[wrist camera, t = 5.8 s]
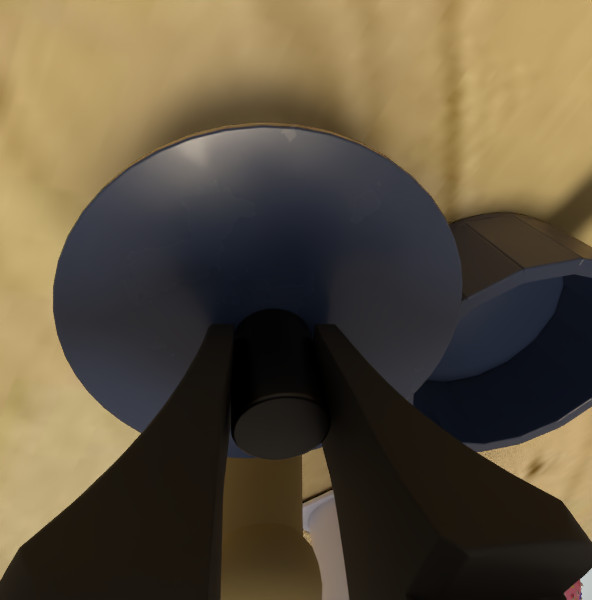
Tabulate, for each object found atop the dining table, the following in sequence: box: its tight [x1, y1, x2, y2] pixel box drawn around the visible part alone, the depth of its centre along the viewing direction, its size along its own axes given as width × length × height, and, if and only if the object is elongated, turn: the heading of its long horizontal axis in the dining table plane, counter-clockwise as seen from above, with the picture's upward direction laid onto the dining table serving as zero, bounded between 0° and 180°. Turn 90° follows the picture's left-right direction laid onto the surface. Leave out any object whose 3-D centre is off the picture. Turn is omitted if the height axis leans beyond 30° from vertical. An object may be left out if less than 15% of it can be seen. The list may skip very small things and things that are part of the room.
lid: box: [53, 122, 463, 460], centre depth 11 cm, size 12×12×4 cm
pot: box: [407, 213, 592, 452], centre depth 19 cm, size 11×17×5 cm
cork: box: [221, 455, 322, 600], centre depth 19 cm, size 6×6×11 cm
